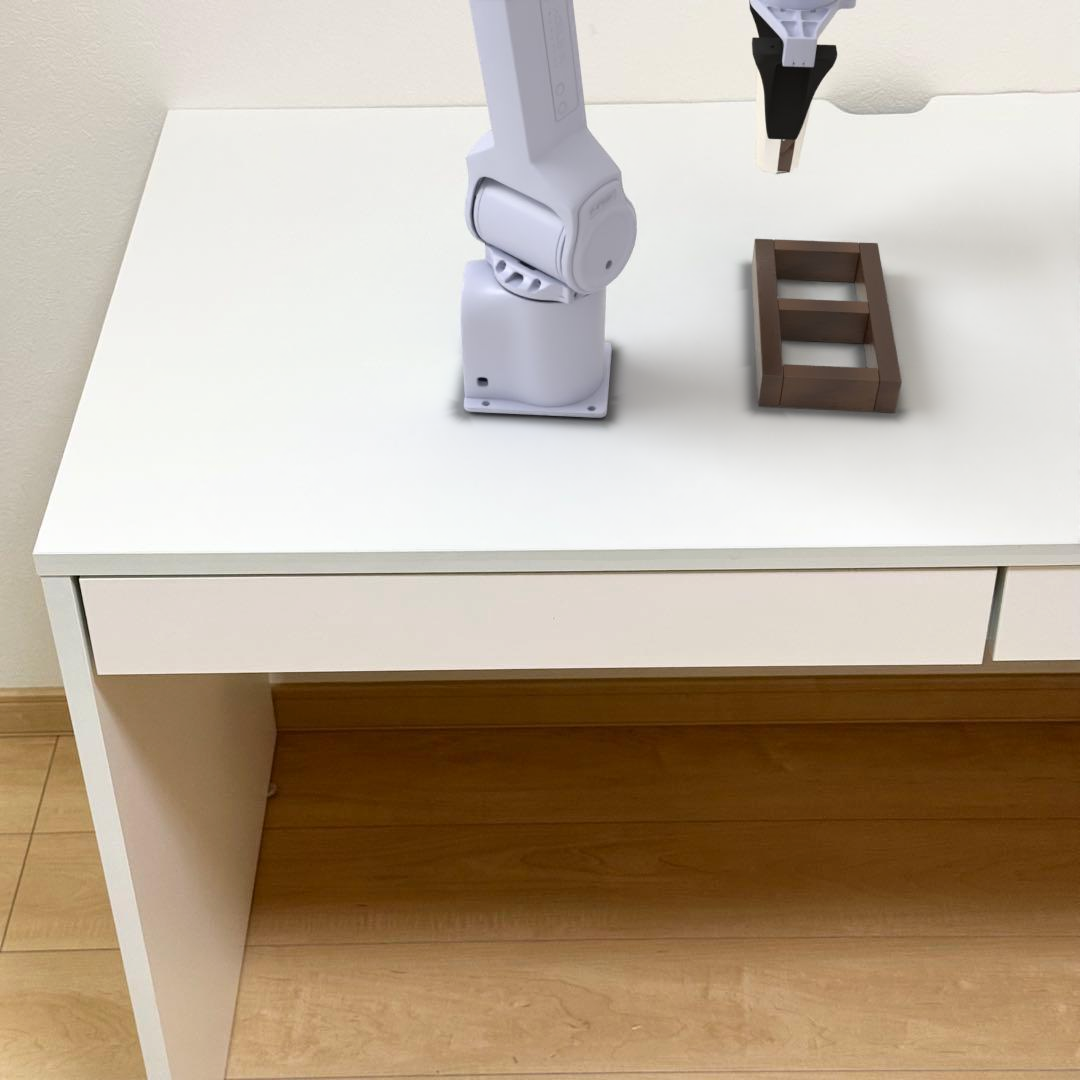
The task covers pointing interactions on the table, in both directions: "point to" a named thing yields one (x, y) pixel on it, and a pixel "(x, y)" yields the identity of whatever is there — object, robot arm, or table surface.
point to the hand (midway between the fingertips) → (780, 118)
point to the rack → (823, 327)
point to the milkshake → (774, 141)
